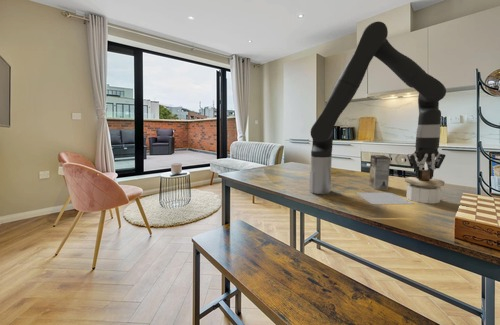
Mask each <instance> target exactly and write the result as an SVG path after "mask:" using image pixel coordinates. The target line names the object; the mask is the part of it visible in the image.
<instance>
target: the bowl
mask: <svg viewBox="0 0 500 325" xmlns="http://www.w3.org/2000/svg"><path fill="white" fill-rule="evenodd" d="M441 187H442V186H439V187H430V186H419V185H414V184H409V183H406V194H405V195H406V196H405V197H406V200H408V201H409V200H410V201H412V202H416V203H422V204H438V203H440V202H441V195H442V194H441V193H442V188H441Z"/></svg>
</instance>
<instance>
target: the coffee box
mask: <svg viewBox="0 0 500 325" xmlns="http://www.w3.org/2000/svg"><path fill="white" fill-rule="evenodd" d="M369 163H370V164H369V179H368V180H369V183H368V185H369V186H370V187H371V188H372V189H373V190H384V191H385V190H389V178H390V165H391V158H390V157H389V156H386V155H385V154H381V155H378V154H374V155H370V162H369Z"/></svg>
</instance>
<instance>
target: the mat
mask: <svg viewBox="0 0 500 325" xmlns="http://www.w3.org/2000/svg"><path fill="white" fill-rule="evenodd" d="M355 193H356V194H357V195H358V197H361V199H364V200H365V201H366V202H368V203H370V204H371V205H415V204H414V202H413V201H412V202H411V200H410V201H409V199H405V198H404V197H401V196H399V195H397V194H395V193H394V192H355Z"/></svg>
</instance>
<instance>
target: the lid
mask: <svg viewBox="0 0 500 325" xmlns="http://www.w3.org/2000/svg"><path fill="white" fill-rule="evenodd" d="M404 182H405V183H406V184H414V185H419V186H430V187H443V186H445V185H446V184H445V180H441V179H437V178H434V177H433V178H432V179H430V171H429V170H427V169H422V179H417V178H416V177H415V176H408V177H405V178H404Z"/></svg>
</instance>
